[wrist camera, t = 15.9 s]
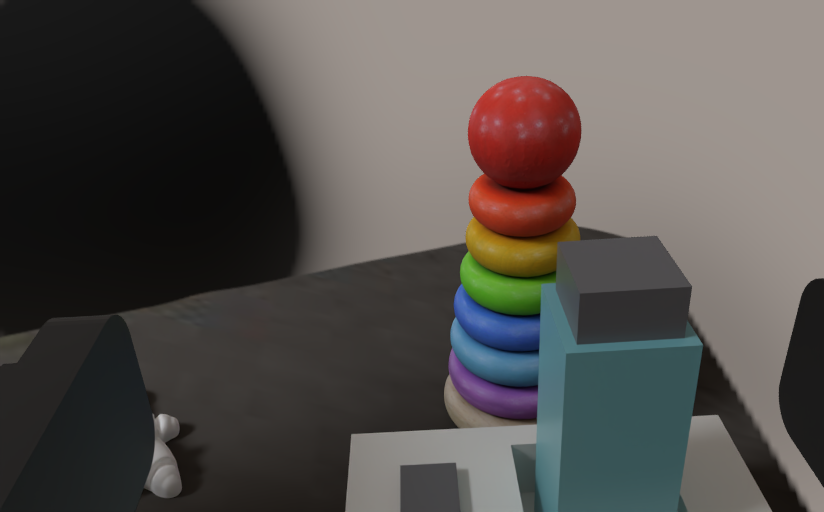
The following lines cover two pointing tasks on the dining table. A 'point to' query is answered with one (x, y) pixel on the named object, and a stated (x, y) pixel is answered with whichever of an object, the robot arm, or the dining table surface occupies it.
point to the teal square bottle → (614, 379)
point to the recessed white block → (518, 471)
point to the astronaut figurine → (164, 460)
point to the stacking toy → (510, 249)
